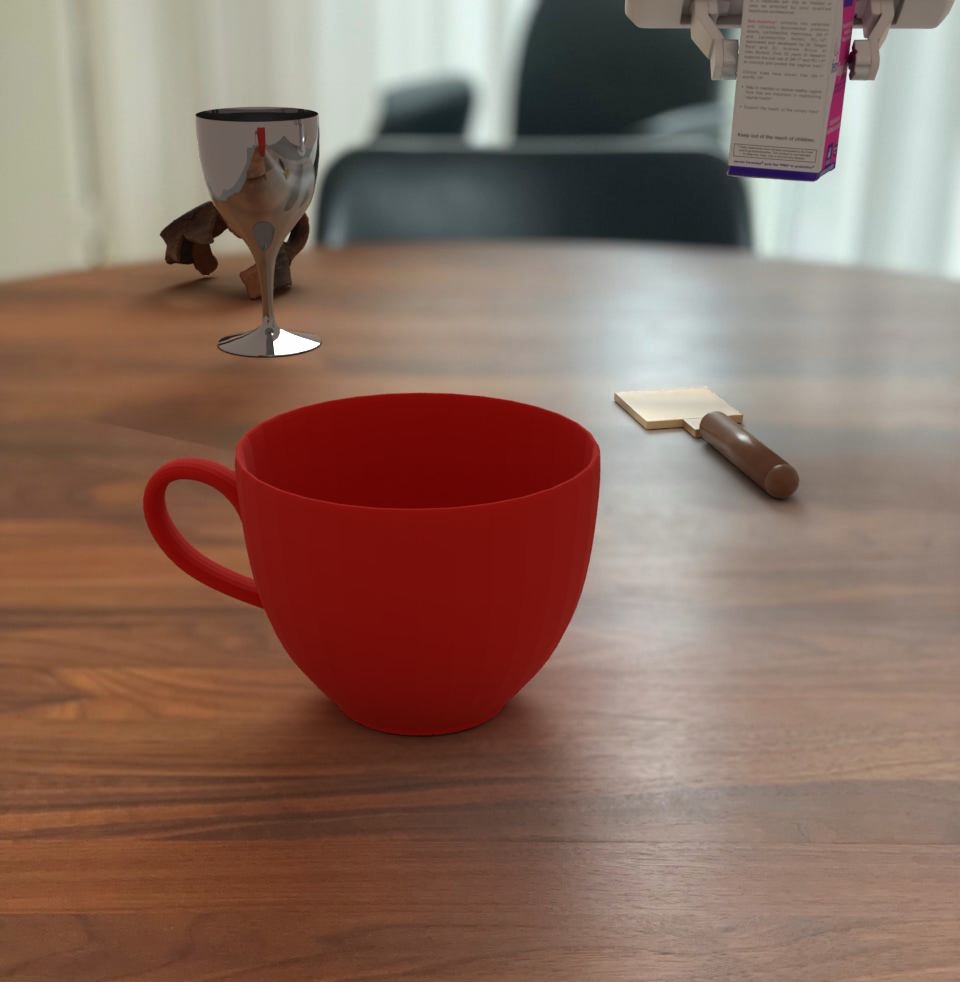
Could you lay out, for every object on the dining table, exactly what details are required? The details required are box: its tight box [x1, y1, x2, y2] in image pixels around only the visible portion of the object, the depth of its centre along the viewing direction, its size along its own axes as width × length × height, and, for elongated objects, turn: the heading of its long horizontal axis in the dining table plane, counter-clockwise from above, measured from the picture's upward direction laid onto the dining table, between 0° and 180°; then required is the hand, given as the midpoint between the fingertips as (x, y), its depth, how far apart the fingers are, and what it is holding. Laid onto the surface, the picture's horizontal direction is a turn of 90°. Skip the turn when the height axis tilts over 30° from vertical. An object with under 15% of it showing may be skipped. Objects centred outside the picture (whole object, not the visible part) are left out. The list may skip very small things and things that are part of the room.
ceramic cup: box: [142, 392, 602, 737], centre depth 55 cm, size 13×17×10 cm
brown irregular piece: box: [159, 200, 311, 300], centre depth 118 cm, size 12×10×8 cm
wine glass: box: [194, 106, 322, 357], centre depth 100 cm, size 8×8×15 cm
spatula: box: [613, 385, 800, 499], centre depth 84 cm, size 19×6×2 cm, turn 14°
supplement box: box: [726, 0, 856, 183], centre depth 91 cm, size 6×6×12 cm
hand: (795, 73), depth 90 cm, fingers closed on supplement box, 7 cm apart
